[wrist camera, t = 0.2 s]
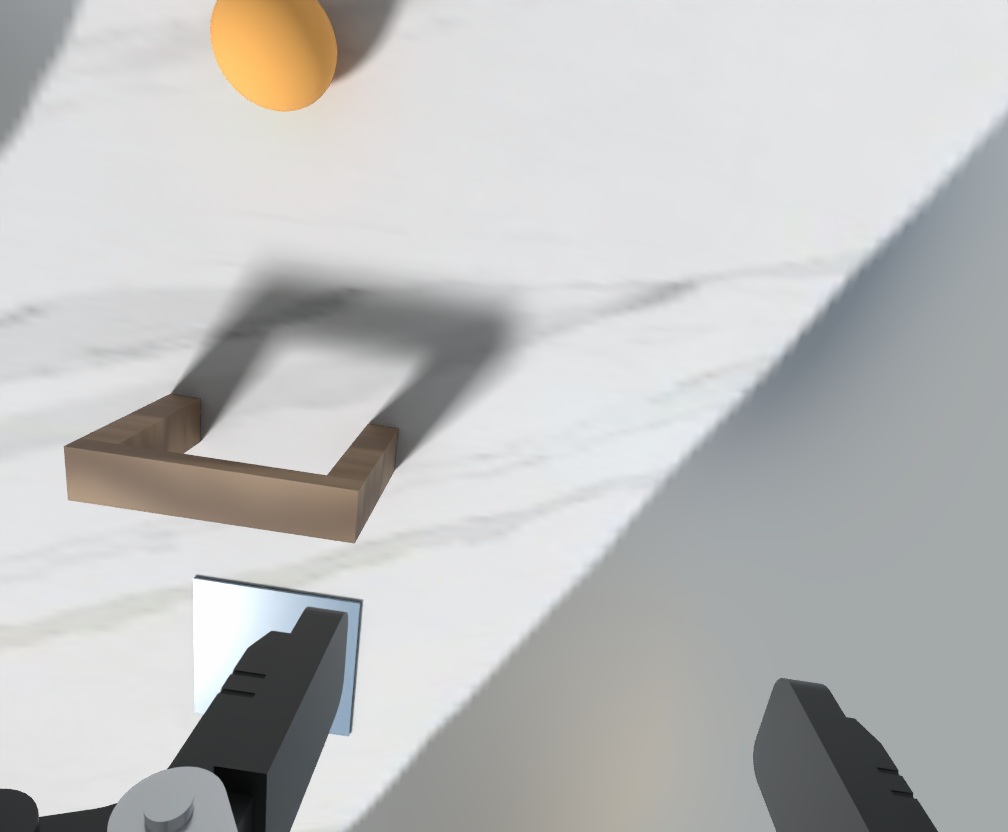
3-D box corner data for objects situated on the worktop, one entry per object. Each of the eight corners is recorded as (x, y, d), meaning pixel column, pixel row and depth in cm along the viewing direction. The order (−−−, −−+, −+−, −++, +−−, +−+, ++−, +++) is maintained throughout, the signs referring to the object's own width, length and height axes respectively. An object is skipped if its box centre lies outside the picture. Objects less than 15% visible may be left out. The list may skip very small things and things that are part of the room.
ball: (243, -12, 34) (184, -58, 28) (354, 5, 34) (318, -38, 28) (242, 110, 36) (186, 90, 30) (347, 126, 36) (311, 109, 30)
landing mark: (194, 577, 45) (193, 578, 45) (360, 602, 45) (359, 603, 45) (195, 711, 49) (194, 712, 49) (349, 734, 49) (348, 736, 49)
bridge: (169, 394, 41) (63, 446, 32) (398, 428, 41) (358, 490, 32) (170, 437, 42) (68, 500, 33) (394, 470, 42) (354, 543, 33)
